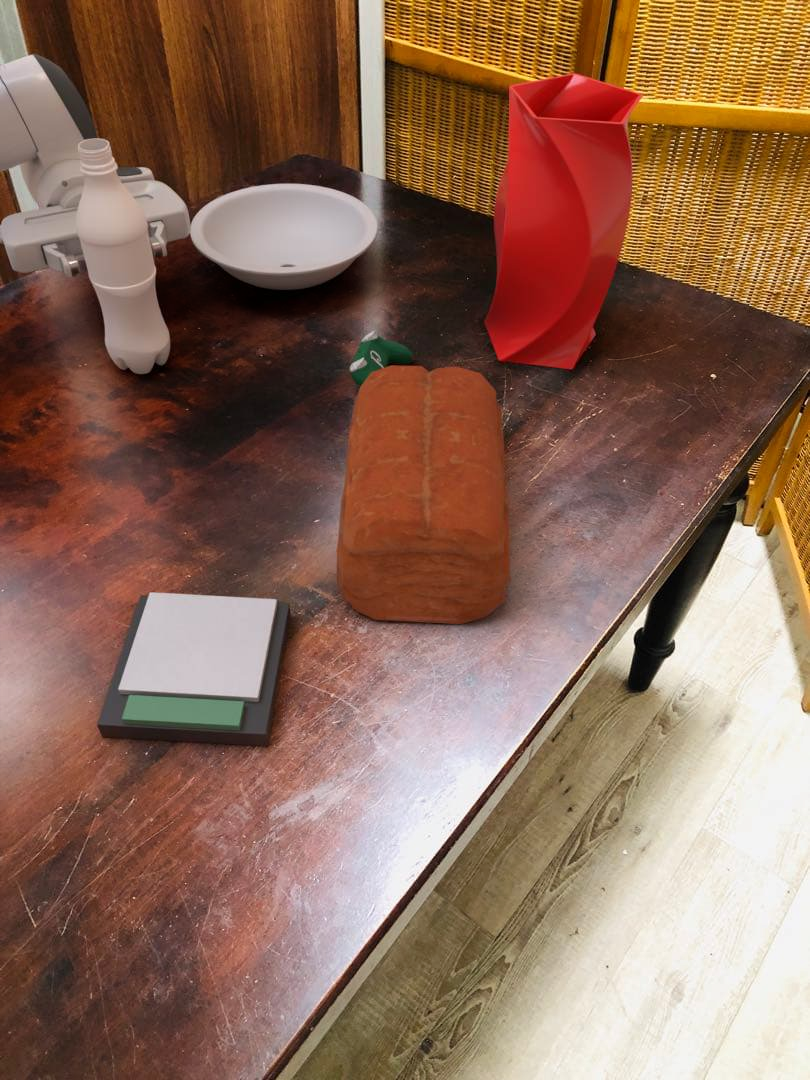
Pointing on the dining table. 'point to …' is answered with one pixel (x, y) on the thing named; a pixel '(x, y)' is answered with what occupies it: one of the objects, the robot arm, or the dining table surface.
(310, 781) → the dining table surface
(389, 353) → the gaming controller
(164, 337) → the water bottle
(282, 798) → the dining table surface
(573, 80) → the vase
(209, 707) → the kitchen scale
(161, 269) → the dining table surface
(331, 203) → the soup bowl
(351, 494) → the bread
